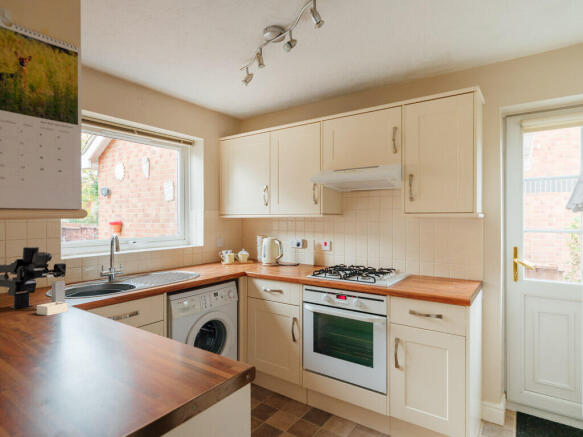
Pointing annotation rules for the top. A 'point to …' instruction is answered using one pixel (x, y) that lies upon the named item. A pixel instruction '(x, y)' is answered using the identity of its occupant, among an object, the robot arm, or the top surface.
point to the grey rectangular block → (58, 291)
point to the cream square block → (52, 308)
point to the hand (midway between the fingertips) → (53, 274)
